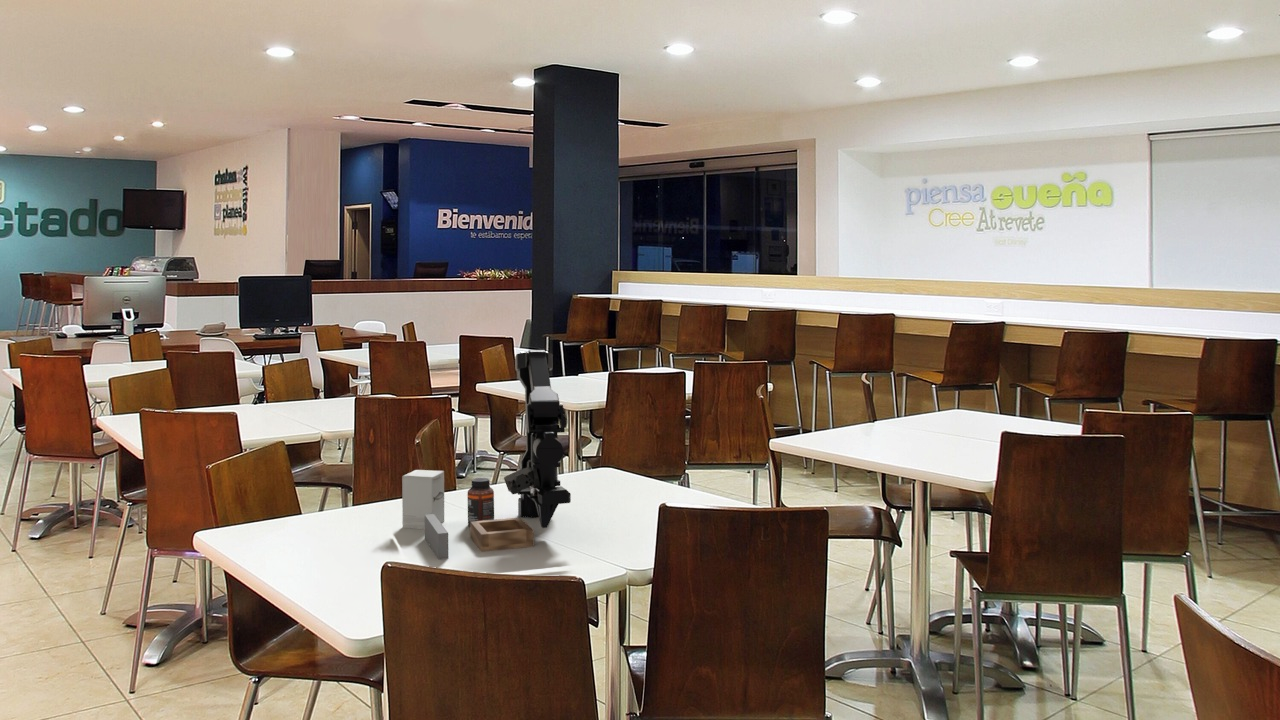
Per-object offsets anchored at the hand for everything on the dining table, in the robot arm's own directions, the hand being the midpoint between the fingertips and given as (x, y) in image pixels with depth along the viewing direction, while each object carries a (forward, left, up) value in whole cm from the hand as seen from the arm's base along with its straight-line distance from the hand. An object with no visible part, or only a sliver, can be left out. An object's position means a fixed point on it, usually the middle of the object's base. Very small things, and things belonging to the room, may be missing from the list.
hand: (544, 527), depth 216 cm
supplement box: (+22, -20, -3) cm, 30 cm away
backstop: (+13, 0, -3) cm, 14 cm away
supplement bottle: (+10, -15, -3) cm, 19 cm away
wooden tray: (+9, 0, -2) cm, 10 cm away
